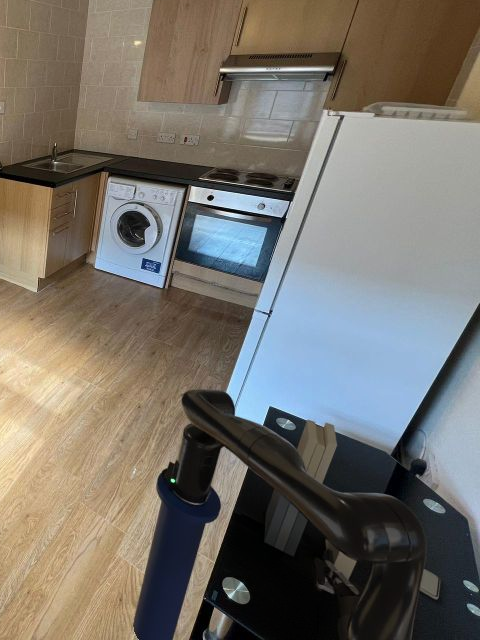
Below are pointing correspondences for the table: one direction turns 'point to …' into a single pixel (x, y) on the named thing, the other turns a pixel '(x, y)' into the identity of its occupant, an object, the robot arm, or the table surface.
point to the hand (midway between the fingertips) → (354, 564)
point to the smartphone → (430, 584)
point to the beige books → (317, 448)
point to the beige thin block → (341, 560)
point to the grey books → (283, 524)
